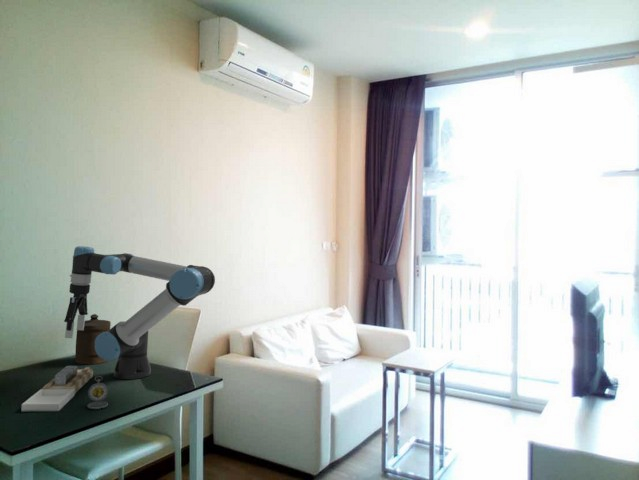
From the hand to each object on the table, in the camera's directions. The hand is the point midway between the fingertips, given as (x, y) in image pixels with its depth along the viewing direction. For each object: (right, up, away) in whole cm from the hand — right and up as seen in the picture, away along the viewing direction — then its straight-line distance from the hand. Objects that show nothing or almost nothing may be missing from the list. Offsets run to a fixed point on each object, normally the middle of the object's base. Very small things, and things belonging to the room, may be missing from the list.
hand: (74, 333), depth 204 cm
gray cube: (+2, -16, -7) cm, 18 cm away
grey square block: (+2, -16, -11) cm, 20 cm away
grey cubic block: (+3, -16, -16) cm, 23 cm away
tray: (+5, -20, -28) cm, 34 cm away
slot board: (+2, -19, -8) cm, 21 cm away
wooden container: (-6, -18, +29) cm, 35 cm away
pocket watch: (+23, -21, -28) cm, 42 cm away
